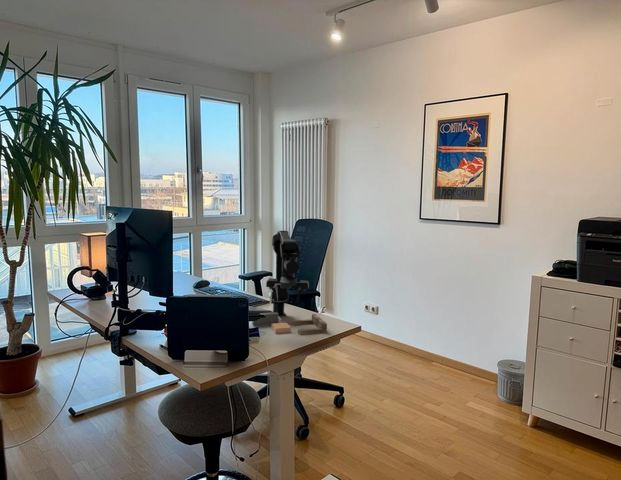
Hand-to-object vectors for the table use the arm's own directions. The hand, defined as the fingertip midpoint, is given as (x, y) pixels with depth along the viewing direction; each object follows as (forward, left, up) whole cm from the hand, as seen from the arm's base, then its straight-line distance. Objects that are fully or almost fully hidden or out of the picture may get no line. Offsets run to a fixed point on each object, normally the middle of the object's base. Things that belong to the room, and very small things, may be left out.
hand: (287, 302), depth 195 cm
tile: (-1, -2, -14) cm, 14 cm away
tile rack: (-1, +10, -13) cm, 16 cm away
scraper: (-11, -7, -13) cm, 19 cm away
